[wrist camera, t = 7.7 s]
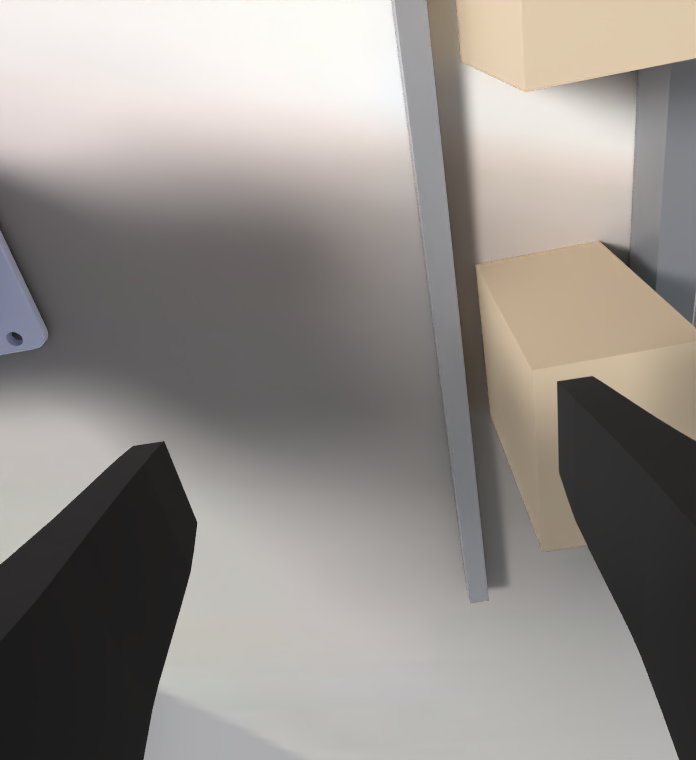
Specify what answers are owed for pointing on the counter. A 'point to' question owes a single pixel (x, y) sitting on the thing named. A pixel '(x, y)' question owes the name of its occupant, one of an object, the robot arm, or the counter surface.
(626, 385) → the box
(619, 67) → the faced tea box
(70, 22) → the counter surface
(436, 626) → the counter surface
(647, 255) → the pair of grey rails
